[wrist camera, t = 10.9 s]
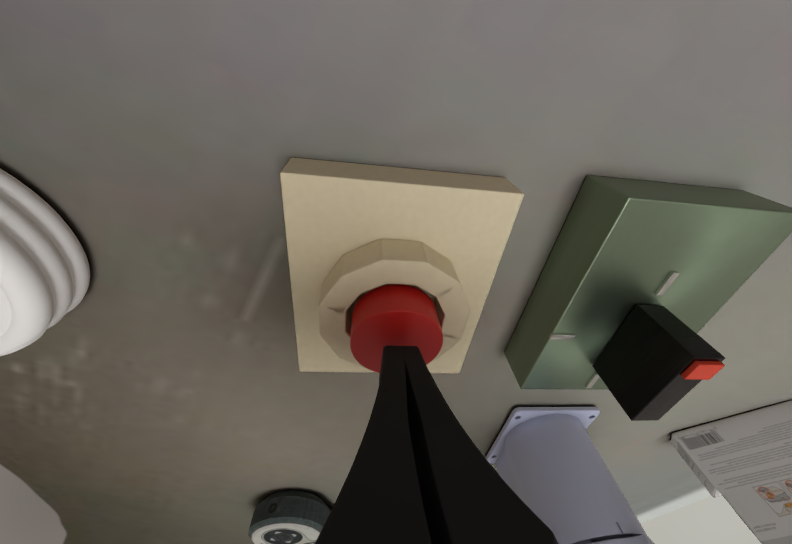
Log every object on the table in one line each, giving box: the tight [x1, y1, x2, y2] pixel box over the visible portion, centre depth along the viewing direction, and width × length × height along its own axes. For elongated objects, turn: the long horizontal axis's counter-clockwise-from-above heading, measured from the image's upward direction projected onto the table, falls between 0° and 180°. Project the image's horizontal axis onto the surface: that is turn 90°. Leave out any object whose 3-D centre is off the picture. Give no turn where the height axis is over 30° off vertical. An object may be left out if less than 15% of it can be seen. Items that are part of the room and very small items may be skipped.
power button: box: [350, 284, 443, 373], centre depth 14 cm, size 4×4×2 cm
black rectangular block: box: [592, 305, 725, 421], centre depth 16 cm, size 5×2×4 cm, turn 174°
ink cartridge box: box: [671, 401, 792, 544], centre depth 27 cm, size 2×11×10 cm, turn 116°
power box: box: [280, 158, 524, 373], centre depth 16 cm, size 12×10×4 cm
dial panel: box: [505, 175, 792, 389], centre depth 18 cm, size 13×9×3 cm
